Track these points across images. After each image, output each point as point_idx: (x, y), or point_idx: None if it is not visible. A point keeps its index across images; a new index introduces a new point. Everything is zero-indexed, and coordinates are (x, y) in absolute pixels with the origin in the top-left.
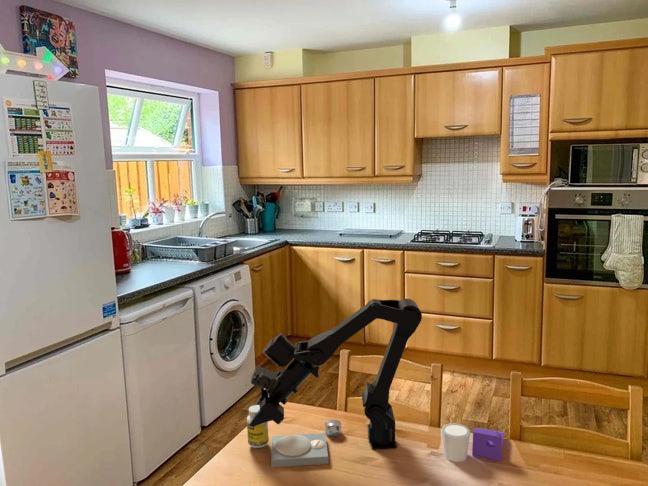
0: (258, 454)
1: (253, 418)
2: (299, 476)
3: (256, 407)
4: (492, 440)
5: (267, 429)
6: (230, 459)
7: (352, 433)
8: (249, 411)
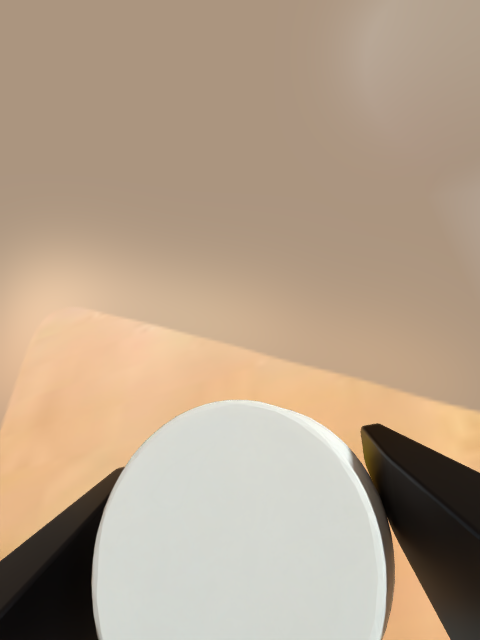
0: None
1: (66, 522)
2: None
3: (267, 538)
4: None
5: None
6: (156, 386)
7: None
8: (159, 429)
